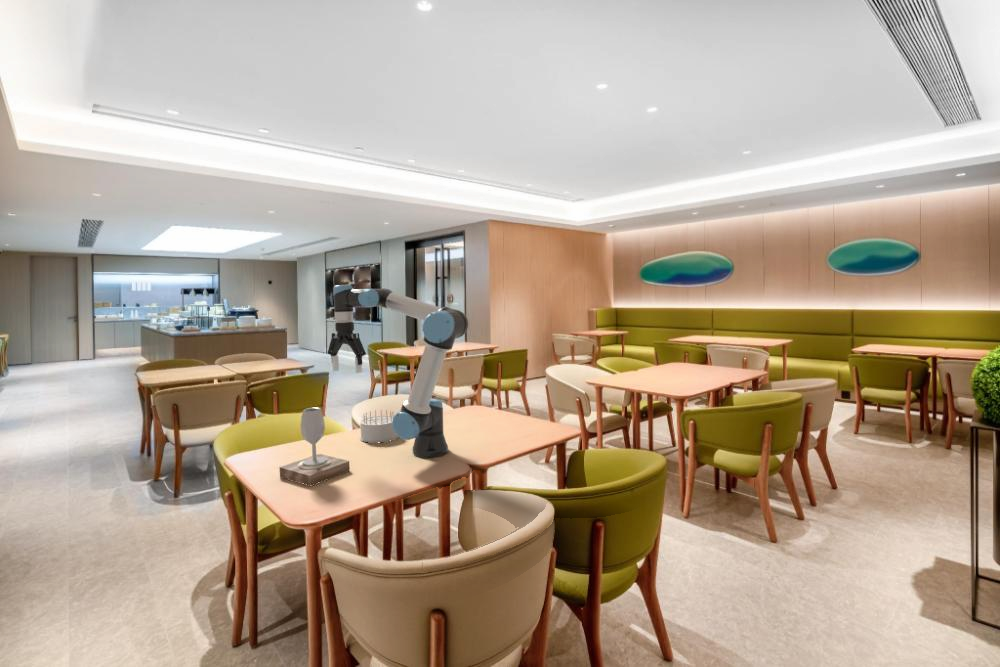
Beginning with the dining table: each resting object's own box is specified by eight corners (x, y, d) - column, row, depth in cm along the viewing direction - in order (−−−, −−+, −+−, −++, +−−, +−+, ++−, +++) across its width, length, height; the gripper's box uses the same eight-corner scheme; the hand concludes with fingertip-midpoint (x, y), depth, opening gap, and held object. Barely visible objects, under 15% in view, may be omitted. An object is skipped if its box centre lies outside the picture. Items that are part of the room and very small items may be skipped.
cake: (374, 431, 253) (372, 405, 251) (405, 434, 247) (404, 407, 245) (352, 441, 236) (350, 413, 235) (385, 444, 230) (384, 416, 229)
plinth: (349, 470, 197) (349, 459, 197) (310, 486, 182) (309, 474, 181) (319, 463, 207) (319, 452, 206) (280, 477, 192) (279, 466, 191)
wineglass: (331, 460, 197) (328, 407, 195) (316, 467, 188) (313, 412, 187) (313, 458, 199) (310, 406, 198) (297, 465, 191) (294, 411, 189)
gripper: (372, 321, 209) (375, 371, 211) (330, 321, 222) (333, 368, 224) (359, 322, 203) (362, 374, 205) (316, 322, 215) (320, 371, 217)
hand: (347, 371), depth 214 cm, fingers open, 13 cm apart
